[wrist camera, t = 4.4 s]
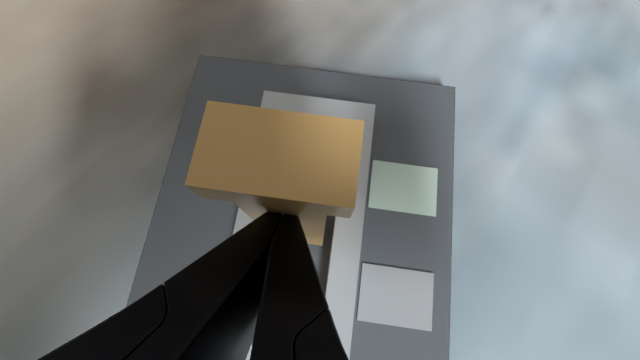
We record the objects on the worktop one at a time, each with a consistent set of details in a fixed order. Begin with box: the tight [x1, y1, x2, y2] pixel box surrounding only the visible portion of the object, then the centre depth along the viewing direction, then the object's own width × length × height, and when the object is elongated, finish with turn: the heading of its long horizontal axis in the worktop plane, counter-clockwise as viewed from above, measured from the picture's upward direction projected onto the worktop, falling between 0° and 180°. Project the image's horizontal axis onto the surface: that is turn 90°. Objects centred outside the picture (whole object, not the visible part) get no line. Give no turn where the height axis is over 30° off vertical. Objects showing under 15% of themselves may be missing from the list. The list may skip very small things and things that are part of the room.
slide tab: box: [185, 101, 365, 246], centre depth 11 cm, size 2×3×9 cm, turn 82°
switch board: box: [126, 55, 455, 360], centre depth 15 cm, size 20×14×3 cm
